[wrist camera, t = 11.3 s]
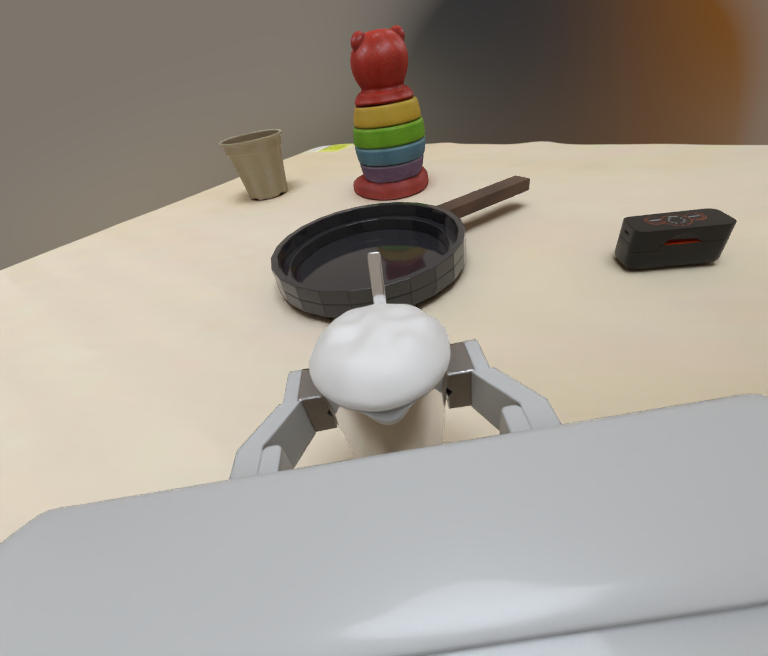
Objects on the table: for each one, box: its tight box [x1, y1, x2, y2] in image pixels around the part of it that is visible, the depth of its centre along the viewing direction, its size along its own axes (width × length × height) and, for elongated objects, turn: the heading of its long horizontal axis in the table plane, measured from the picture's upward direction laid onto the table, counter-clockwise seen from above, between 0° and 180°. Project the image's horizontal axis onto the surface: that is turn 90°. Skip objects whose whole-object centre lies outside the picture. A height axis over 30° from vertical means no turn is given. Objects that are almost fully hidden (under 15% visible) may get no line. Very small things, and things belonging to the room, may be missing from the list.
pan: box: [271, 202, 466, 318], centre depth 33 cm, size 17×17×3 cm
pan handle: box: [432, 176, 530, 223], centre depth 36 cm, size 12×2×1 cm, turn 121°
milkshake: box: [309, 252, 451, 459], centre depth 14 cm, size 5×5×10 cm
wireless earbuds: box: [615, 209, 737, 270], centre depth 27 cm, size 5×7×3 cm, turn 85°
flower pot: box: [219, 129, 287, 200], centre depth 56 cm, size 9×9×9 cm
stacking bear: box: [350, 25, 428, 200], centre depth 45 cm, size 11×10×18 cm
